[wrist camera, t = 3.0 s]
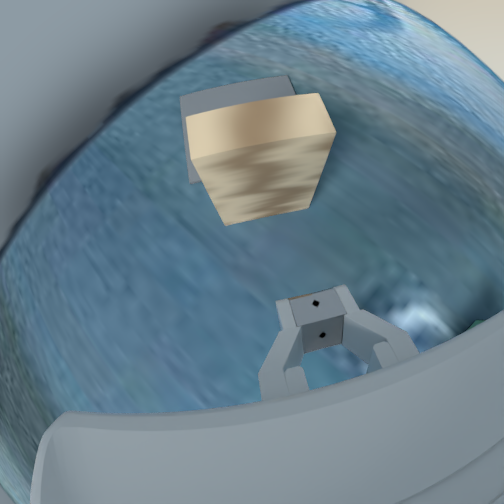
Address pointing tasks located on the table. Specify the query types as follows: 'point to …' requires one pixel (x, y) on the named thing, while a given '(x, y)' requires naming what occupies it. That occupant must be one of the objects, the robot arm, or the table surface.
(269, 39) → the table surface
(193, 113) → the mat
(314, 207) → the table surface
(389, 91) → the table surface
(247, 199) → the oak slab
